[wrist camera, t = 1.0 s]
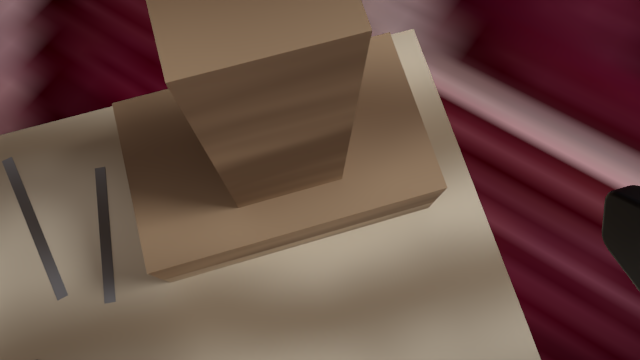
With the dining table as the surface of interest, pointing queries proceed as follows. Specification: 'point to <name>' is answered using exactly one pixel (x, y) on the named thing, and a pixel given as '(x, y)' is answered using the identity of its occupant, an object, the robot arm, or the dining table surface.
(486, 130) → the dining table surface
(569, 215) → the dining table surface
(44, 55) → the dining table surface
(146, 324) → the birch board
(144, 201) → the block
